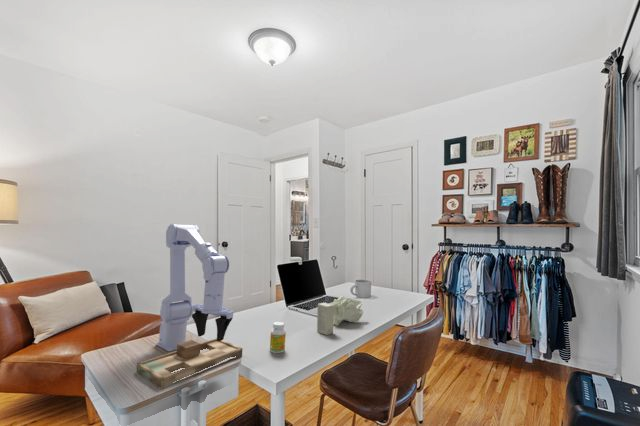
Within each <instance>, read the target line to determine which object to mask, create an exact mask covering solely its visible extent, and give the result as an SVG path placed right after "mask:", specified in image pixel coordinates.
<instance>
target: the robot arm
mask: <svg viewBox="0 0 640 426" xmlns="http://www.w3.org/2000/svg"><path fill="white" fill-rule="evenodd" d="M198 226H199V225H197V224H179V223H178V224H175V223H170V224H169V225H168V226H167V228H166V232H165V243H166V245H165V246H166V247H167V248H168V249H169V261H170V262H169V268H170V269H169V272H170V275H169V284H170V286H169V292H170V293H169V294H168V295H167V296H166V297H165V298H163V299H162V300H161V307H160V311H159V313H160V314H159V315H160V319H161V321H162V322H161V324H160V325H159V337H158V342H156V344H155V345H156V346H158V347H160V348H162V349H164V350H166V352H167V351H168V352H174V351H177V344H179V343H182V342H186V341H187V326H188V321H190V318H192V319H193V321H194V324H195V326H196V332H197V336H198V337H200V338H201V337H202V336H204V335H205V334H206V328H207V327H206V326H207V321H208V317H209V315H212V316H217V317H218V318H215V325H216V338H217V341H221V340H224V338H225V334H226V332H227V330H228V327H229V325H230V323H231V322H232V320H233V318H234V310H231V309H228V308H226V307H223V304H224V303H223V301H224V288H225V287H224V286H225V275H226V273H227V272H228V270H229V269H230V260H229V258H228V256H227V255H225V254H219V252H218V251H217V250H216V249H215V248H214V247H213V246H212V243H211V242H205V241H204V239H203V238H202V237H201V235H200V227H198ZM191 246H192V247H193V248H194V254H195V257H197V259H198V260H199V261H200V263H201V264H202V268H201V269H202V272H203V280H205V281H204V291H203V294H204V295H203V303H202V304H199V303H196V304H193V299H192V297H191V296H190V295H189V294H187V293H186V263H185V260H186V259H185V258H186V257H185V256H186V255H185V253H186V249H187V248H190V247H191Z"/></svg>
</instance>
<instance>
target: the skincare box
mask: <svg viewBox="0 0 640 426" xmlns="http://www.w3.org/2000/svg"><path fill="white" fill-rule="evenodd" d="M332 304H333V303H328V302H320V303H317V318H316V319H317V320H316V332H317V333H320V334H323V335H325V336H328V335H331V334H333V333H334V321H333V318H334V305H332Z"/></svg>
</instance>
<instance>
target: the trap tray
mask: <svg viewBox="0 0 640 426" xmlns="http://www.w3.org/2000/svg"><path fill="white" fill-rule="evenodd" d="M199 343H200V342H199ZM206 348H207V349H209V351H206V352H204V353H200V354H199V355H197V356H194V357H191V358H188V359H183V358H181V357H179V356H177V355H176V354H177V350H173V351H170V352H168V353H166V354H165V353H164V354H162V355H160V356H159V355H158V356H156V357H153V358H150V359H146V360H144V361H139V362H137V363H136V370H135V371H136V373H137V374H138V375H140V376H141V377H143V378H145V379H146V380H147V381H149V382H150V383H152V384H153V385H155V386H156V387H158V388H159V387H160V389H164V388H166V387H168V386H167V385H169V384H171V383H173V382H175V381H177V380H180V379H182V378H184V377H187V376H189V375H192V374H194V373H196V372H199V371H201V370H203V369H205V368H208V367H210V366H213V365H215V364H217V363H219V362H221V361H223V360H225V359H227V358H230V357H235V356H236V357H238V358H240V357H242V356H243V349H244V348H243V347H241V346H238V345H236V344H233V343H231V342H228V341H226V340H224V339H223V340H221V341H217V337H216V338H213V339H212V338H211V339H210V340H206V341H203V342H201V343H200V350H203V349H206ZM180 368H185V369H182V370H180V371H177V372H174V373H171V372H173V371H175V370H178V369H180ZM171 385H172V384H171ZM165 386H166V387H165ZM169 386H170V385H169ZM163 387H164V388H163Z"/></svg>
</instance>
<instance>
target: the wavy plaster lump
mask: <svg viewBox="0 0 640 426" xmlns="http://www.w3.org/2000/svg"><path fill="white" fill-rule="evenodd" d="M331 304H332V305H334V318H333V324H334V326H336V327H337V326H340V324H341V322H342V321H344V322H345V321H347V322H349V323H354V324H357V323H359V321H360V319H361V318H362V317H363V314H364V311H363V309H361V307H362V305H363V302H362V301H361V300H354V299H352V298H350V297H347V298H346V297H345V296H343V295H341V296H339V297H338V298H337V299H336V298H334V300H333V302H332V303H331Z"/></svg>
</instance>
